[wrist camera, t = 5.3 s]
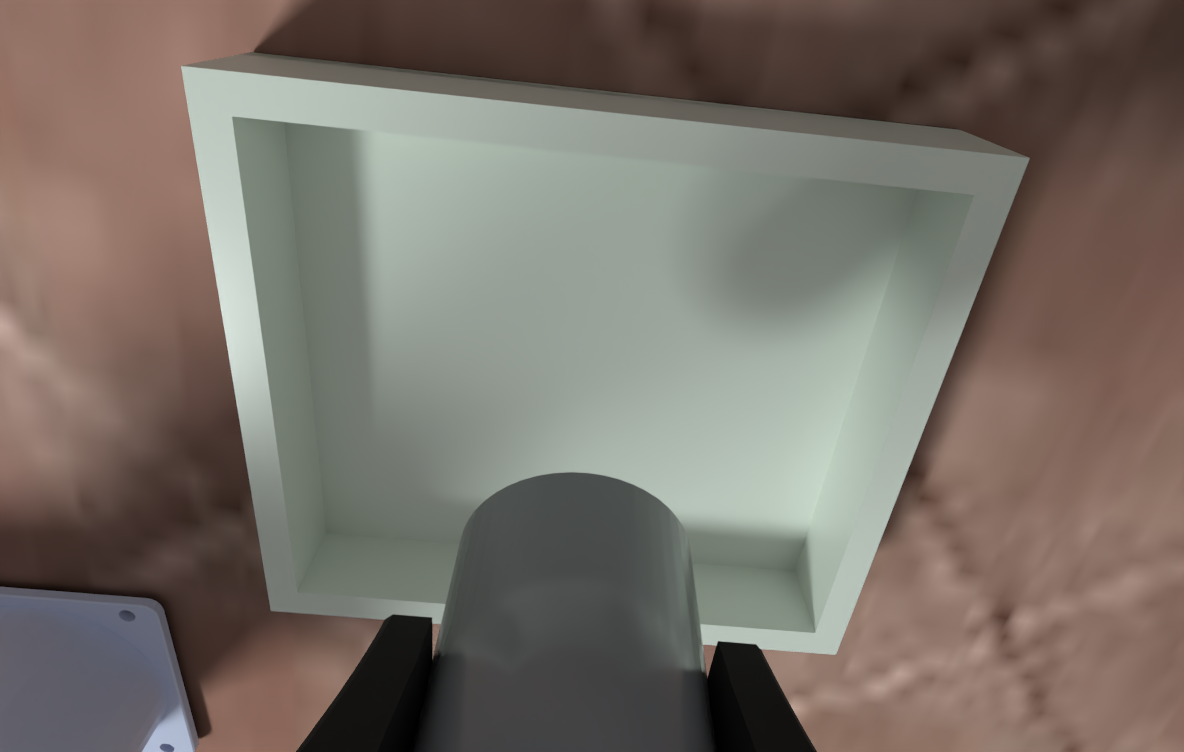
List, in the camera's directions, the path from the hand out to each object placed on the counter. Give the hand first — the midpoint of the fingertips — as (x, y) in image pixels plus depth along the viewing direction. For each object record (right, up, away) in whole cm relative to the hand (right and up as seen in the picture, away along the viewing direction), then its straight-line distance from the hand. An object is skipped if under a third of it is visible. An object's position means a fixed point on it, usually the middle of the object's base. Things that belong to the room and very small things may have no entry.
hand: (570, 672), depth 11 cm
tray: (0, +5, +8) cm, 10 cm away
